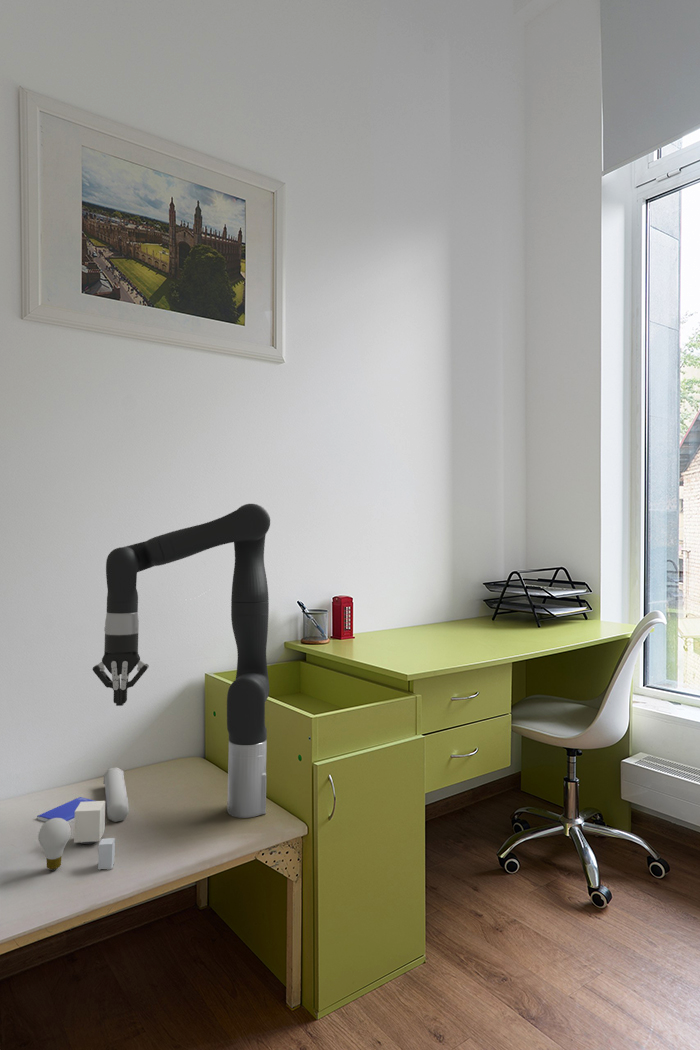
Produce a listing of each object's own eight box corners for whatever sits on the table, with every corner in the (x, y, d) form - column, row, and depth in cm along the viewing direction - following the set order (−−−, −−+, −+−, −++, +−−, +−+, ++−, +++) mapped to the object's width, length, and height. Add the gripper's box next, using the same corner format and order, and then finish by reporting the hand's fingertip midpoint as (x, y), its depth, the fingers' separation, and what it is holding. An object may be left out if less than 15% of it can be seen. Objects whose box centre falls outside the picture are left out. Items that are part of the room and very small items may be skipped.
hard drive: (78, 796, 164) (36, 814, 153) (103, 802, 160) (61, 821, 149) (78, 802, 164) (36, 821, 153) (102, 808, 160) (61, 828, 149)
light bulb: (75, 869, 130) (76, 818, 130) (45, 880, 125) (46, 828, 125) (61, 859, 133) (63, 810, 134) (32, 870, 129) (33, 819, 129)
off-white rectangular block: (104, 830, 145) (105, 800, 145) (99, 841, 140) (100, 810, 140) (80, 831, 144) (80, 801, 144) (73, 842, 139) (74, 811, 139)
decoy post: (114, 862, 132) (114, 838, 133) (111, 869, 130) (112, 843, 130) (100, 863, 132) (101, 838, 132) (98, 870, 129) (98, 844, 130)
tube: (134, 805, 152) (127, 769, 175) (111, 801, 150) (107, 765, 173) (126, 828, 151) (119, 789, 175) (103, 824, 150) (100, 785, 173)
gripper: (152, 629, 158) (151, 700, 158) (96, 629, 156) (94, 701, 156) (148, 633, 151) (146, 708, 150) (88, 633, 149) (86, 709, 148)
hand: (120, 704), depth 153 cm, fingers closed
